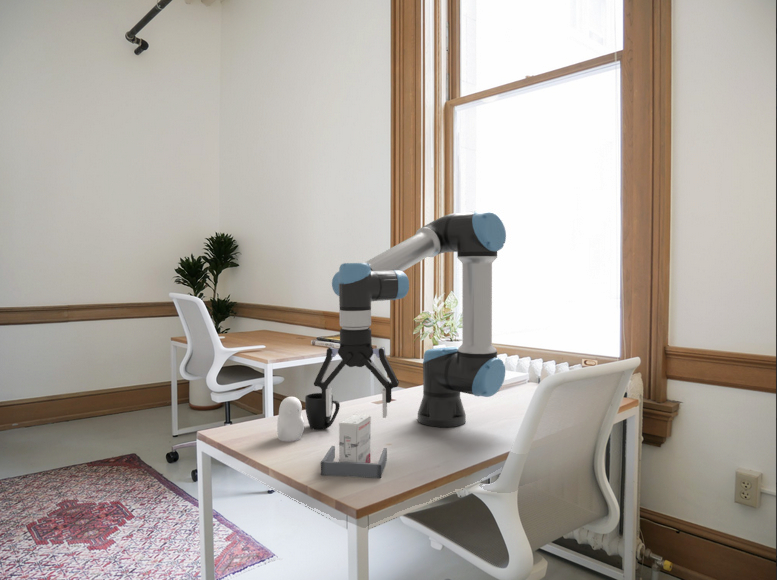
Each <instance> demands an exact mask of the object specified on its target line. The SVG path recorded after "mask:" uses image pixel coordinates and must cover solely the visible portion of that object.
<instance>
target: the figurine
mask: <svg viewBox="0 0 777 580" xmlns="http://www.w3.org/2000/svg"><path fill="white" fill-rule="evenodd" d="M302 410H303V407H302V402H301V401H300V399H298V397H295V396H288V397H284V399H283V400H282V401H281V403H280V405H279V408H278V416H277V425H276V426H277V431H276V433H277V438H278V440H279V441H281V442H296V441H298V440H300V439H301V437H302V434H303V432H305V431H304V430H305V421H304V418H303V415H302V412H303V411H302Z"/></svg>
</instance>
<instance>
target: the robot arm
mask: <svg viewBox="0 0 777 580" xmlns="http://www.w3.org/2000/svg"><path fill="white" fill-rule="evenodd" d="M506 233H507V232H506V228H505V224H504V222H503V220H502V219H501V217H500V216H499V215H498V214H497V213H496V212H494V211H491V210H476V211H468V212H459V213H457V212H456V213H448V214H447V215H443V216H441V217H439V218H437V219H435V220H433V221H431V222H429V223H427V224H425V225H424V226H422V227H420V228H418V229H417V230H416V232H415V234H414V235H412V236H410V237H409V238H406V239H405V240H403V241H401V242H400V243H398V244H396V245H394V246H392V247H390V248H388V249H386V250H385V251H383V252H381V253H380V254H378V255H375V256H374V257H372V258H370V259H369V260H367V261H365V262H343V263H341V264H340V265H339V270H338V271H337V272H335V274H334V275H333V277H332V280H331V287H332V291H333V292H334V294H335V295H336V296H337V297H338V300H339V301H338V302H339V304H338V305H339V314H338V315H339V327H341V328H340V330H339V348H335V347H333V346H330V347H328V348H327V349H326V353H325V354H326V355H325V359H324V361H323V363H322V365H321V367H320V369H319V371H318V373H317V375H316V378H315V379H314V381H313V385H314V386H315V387H318V388H320V389H321V393H322V401H323V402H326V417H329V416H330V415H331V416H332V414H333V408H332V399H331V395H332V386H330V384H331V383H332V381H333V380H334V379H335V378H336V377H337V376H338V374H339V373H340V372H341V371H342V370H343V368H344V367H345V366H348V367H349V368H353V367H358V368H363V367H364V366H365V368H366V369H368V370H369V371H370V372H371V374H372V375H373V376H374V377H375V378H376V380H377V381H378V382H379V383H380V384H381V385H382V386H383V388H382V391H381V393H382V394H381V395H382V419H383V418H385V419H386V418H387V417H388V404H390V403H392V402H391V401H392V389H395V388H397V387H399V383H400V382H399V379H398V377H397V375H396V373H395V372H394V370H393V368H392V366H391V364H390V362H389V360H388V358H387V355H386V349H385V347H384V346H381V347H380V348H378V347H377V348H373V346H372V328H370V327H371V326H372V302H378V301H380V302H383V301H396V300H401V299H404V298H405V297H407V295H408V293H409V290H410V280H409V277H408V275H407V274H406V273H405V271H406V270H407V269H409V268H411V267H413V266H414V265H416V264H418V263H419V262H422V261H423V260H424V259H427V258H434V257H436V256H438V255H439V254H444V253H457V254H456V256H457V257H456V258H457V259H458V260H459V261H460V263H461V265H462V267H461V268H462V269H461V270H462V272H461V273H462V275H461V276H462V277H461V278H462V293H461V294H462V315H461V316H462V318H461V319H462V321H461V322H462V323H461V324H462V329H461V330H462V333H461V334H462V338H461V339H462V342H461V345H460V346H449V347H435V348H429V349H427V350H425V351H424V353H423V360H422V365H423V366H422V380H423V381H422V382H423V383H422V385H423V386H422V388H423V389H422V390H423V393H422V395H423V396H422V399H421V401H420V405H419V407H418V411H417V422H419V423H420V424H421V425H425V426H430V427H437V428H452V427H458V426H462V425H464V424H465V423H466V421H467V420H466V415H467V414H466V411H465V409H464V404H463V401H462V397H461V393H464V394H467V395H468V394H469V395H473V396H475V397H485V398H490V397H492V396H494V395H496V394H497V393H498V392H499V390H500V389H501V388H502V386H503V384H504V381H505V379H506V378H505V376H506V365H505V364H504V361H503V360H502V359H501V358H499V357H498V349H497V348H496V347H495V346H494V345H493V344H492V343H493V341H492V340H493V339H492V338H493V334H492V333H493V332H492V331H493V329H492V328H493V324H492V322H493V301H492V300H493V262H495V260H497V259H498V252H499V251H500V250H502V249H503V247H504V245H505V243H506V240H507V239H506V238H507V234H506ZM337 354H338V357H340V358H341V361H340V362H339V364H337V366H336V367H335V368H334V369H333V371H332V372H331V373H330V375H328V377H327V378H326V379H325V380H324V381H323V379H324V377H325V375H326V373H327V371H328V369H329V366H330V364H331V362H332V360H333V358H335V357H336V355H337ZM374 354H375V356H376V357H377V358H379V361H380V362H381V365H382V367H383V369H384V371H385V372H386V375H387V377H388V379H389V380H388V379H387V377H386V376H385V375H384V374H383V373H382V371H381V369H379V368H378V366H377V365H376V364H375V363H374V361H373V360H372V359H371V358H372V356H373V355H374Z"/></svg>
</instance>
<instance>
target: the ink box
mask: <svg viewBox="0 0 777 580" xmlns="http://www.w3.org/2000/svg"><path fill="white" fill-rule="evenodd" d="M371 417H372V416H370V415H368V414H367V415H365V414H353V415H351V416H349V417H348V418H346V419H344V420H343V421H341V422H339V423H338V424H339V425H338V426H339V429H338V430H339V431H338V432H339V433H338V438H339V441H338V444H339V447H338V448H339V449H338V451H339V454H338V455H339V459H338V460H339V461H338V462H355V463H371V440H372V439H371V435H372V434H371V431H372V430H371V429H372V427H371V424H372V423H371V422H372V418H371Z"/></svg>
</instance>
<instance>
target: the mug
mask: <svg viewBox="0 0 777 580" xmlns="http://www.w3.org/2000/svg"><path fill="white" fill-rule="evenodd" d="M333 398H334V396H333V394H331V399H332V409H333V405H334V404H335V407H334V408H335V409H334V411H333V413H332V414H333V415H332V414H331V415H330V416H329V417H326V402H323V401H322V392H314V393H309V394H306V395H305V397H304V400H305V401H304V403H305V414H306V419H307V422H308V425H309V428H310V429H311V430H316V431H319V430H321V431H322V430H326V429H328V428H330V427H331V426H332V425H333V423H334V422H335V419H336V417H337V416H338V414H339V410H340V408H341V406H340V404H341V403H340V402H339V401H338V400H334V399H333Z"/></svg>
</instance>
